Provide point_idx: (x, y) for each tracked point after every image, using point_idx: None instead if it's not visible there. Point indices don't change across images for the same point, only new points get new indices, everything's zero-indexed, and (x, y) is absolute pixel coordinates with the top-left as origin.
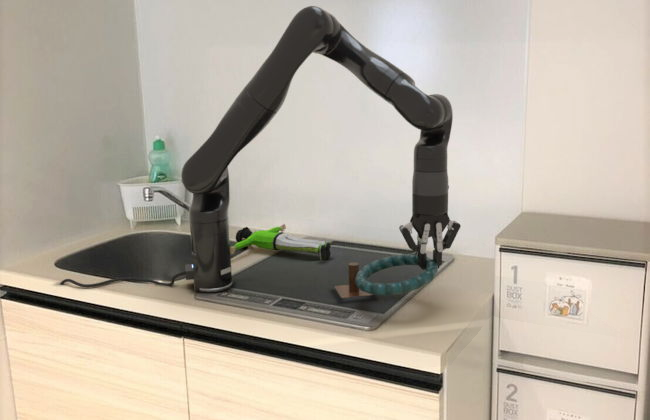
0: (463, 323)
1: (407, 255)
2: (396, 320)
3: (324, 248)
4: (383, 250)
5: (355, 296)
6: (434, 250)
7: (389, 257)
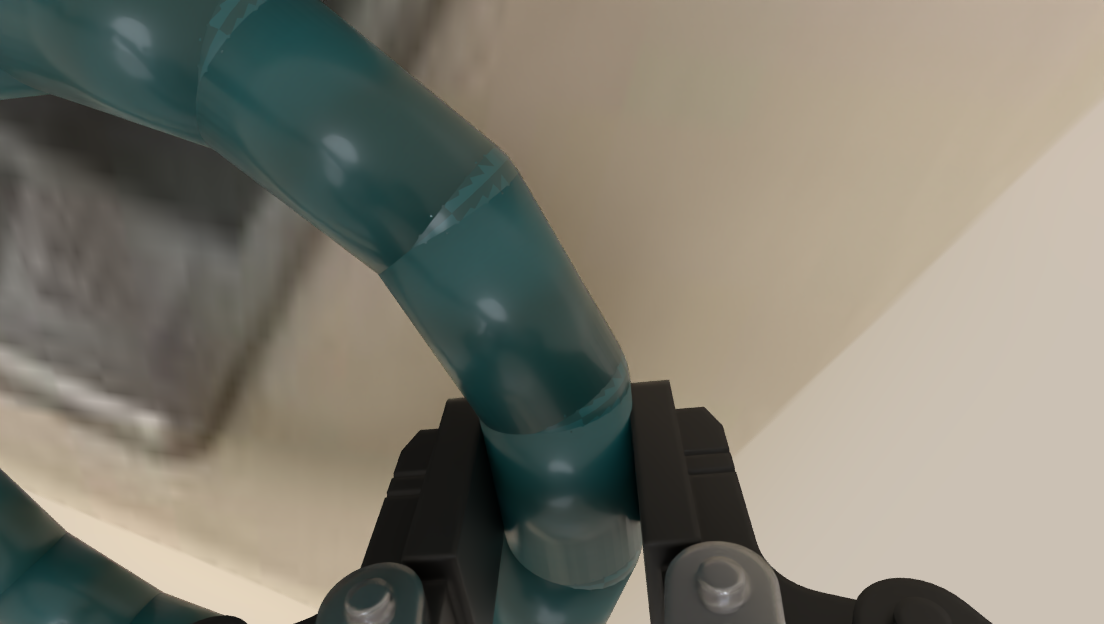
0: None
1: (249, 150)
2: (325, 361)
3: None
4: None
5: None
6: (661, 568)
7: None
